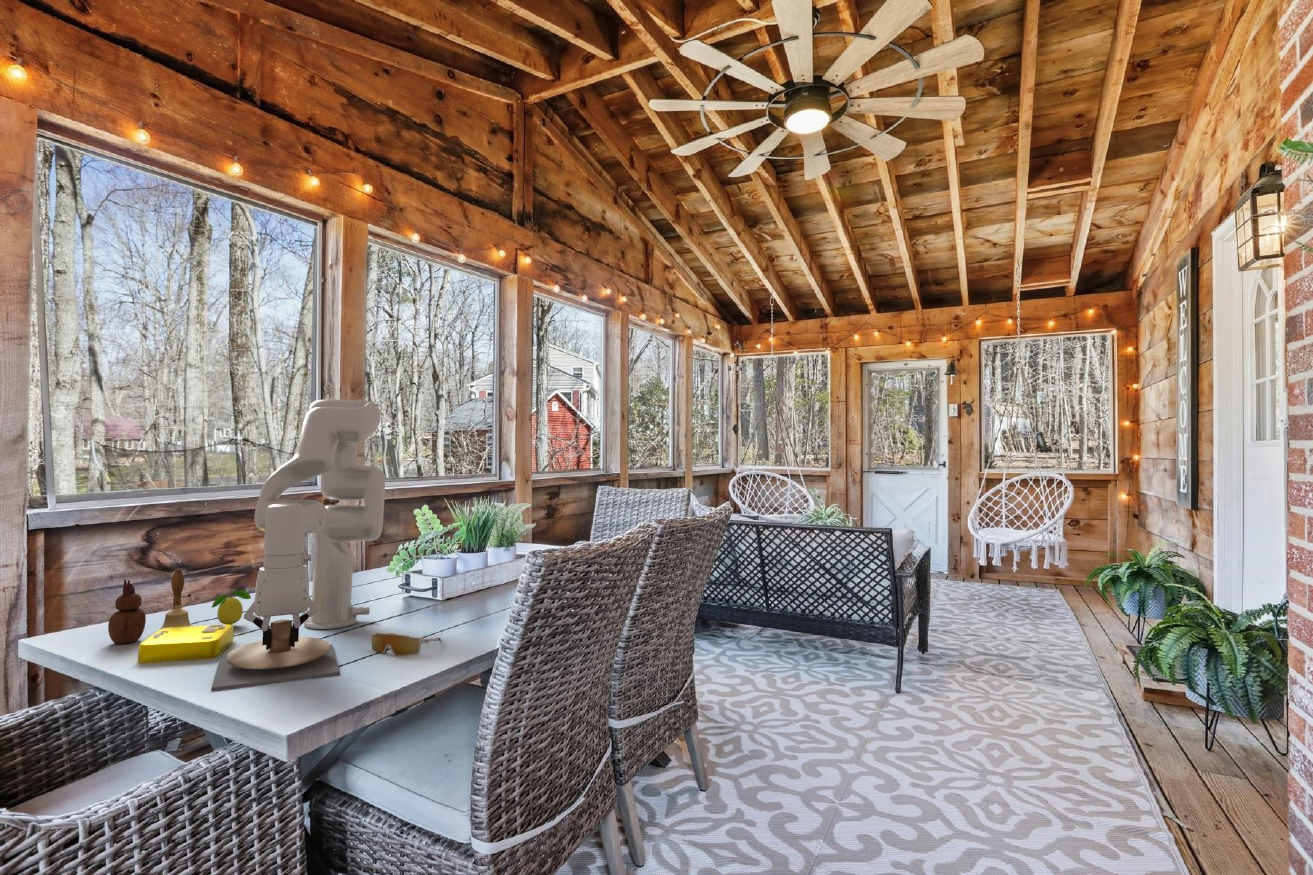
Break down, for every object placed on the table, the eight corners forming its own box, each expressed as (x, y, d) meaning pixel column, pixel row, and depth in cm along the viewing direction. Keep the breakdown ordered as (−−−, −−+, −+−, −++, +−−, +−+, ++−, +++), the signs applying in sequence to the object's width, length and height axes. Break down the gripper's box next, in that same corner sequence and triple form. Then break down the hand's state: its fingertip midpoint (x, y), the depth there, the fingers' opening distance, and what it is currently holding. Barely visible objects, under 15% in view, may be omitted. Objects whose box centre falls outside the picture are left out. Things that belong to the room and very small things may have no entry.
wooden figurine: (121, 647, 149) (125, 581, 149) (101, 644, 150) (105, 579, 151) (150, 639, 155) (153, 576, 156) (130, 637, 157) (134, 574, 157)
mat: (332, 646, 154) (332, 644, 154) (339, 674, 135) (339, 671, 135) (220, 658, 143) (220, 655, 143) (211, 690, 124) (211, 687, 124)
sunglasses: (358, 653, 150) (361, 631, 150) (395, 645, 164) (398, 625, 165) (414, 659, 147) (417, 636, 148) (447, 650, 162) (449, 629, 162)
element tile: (160, 646, 152) (161, 625, 152) (235, 641, 157) (236, 621, 157) (134, 665, 138) (135, 642, 138) (216, 660, 143) (218, 638, 143)
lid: (326, 636, 152) (327, 607, 153) (332, 661, 136) (334, 628, 136) (229, 646, 143) (231, 615, 143) (223, 674, 127) (225, 639, 127)
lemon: (250, 624, 172) (252, 585, 172) (235, 629, 166) (237, 590, 166) (225, 623, 172) (227, 584, 172) (209, 628, 166) (211, 589, 166)
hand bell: (151, 639, 155) (155, 572, 156) (158, 631, 162) (162, 567, 163) (193, 636, 159) (197, 570, 159) (199, 628, 166) (202, 565, 167)
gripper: (326, 556, 147) (323, 637, 147) (238, 560, 139) (235, 646, 139) (328, 561, 141) (325, 646, 140) (236, 566, 132) (232, 657, 132)
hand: (280, 645), depth 139 cm, fingers closed on lid, 4 cm apart
